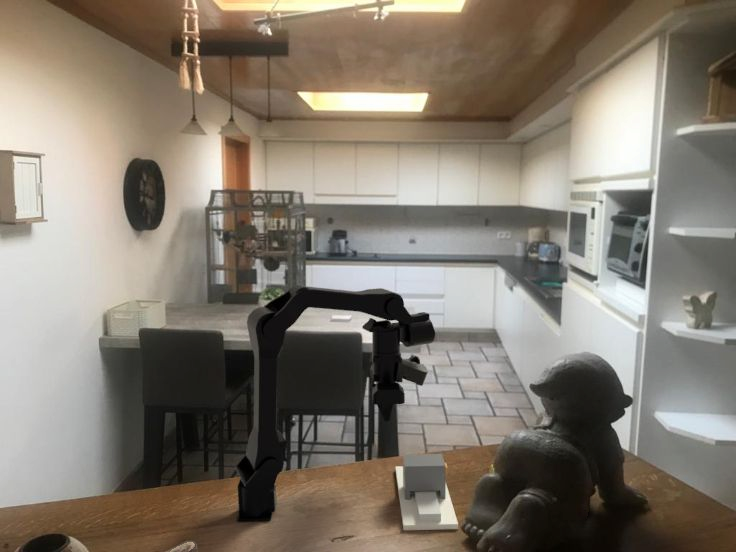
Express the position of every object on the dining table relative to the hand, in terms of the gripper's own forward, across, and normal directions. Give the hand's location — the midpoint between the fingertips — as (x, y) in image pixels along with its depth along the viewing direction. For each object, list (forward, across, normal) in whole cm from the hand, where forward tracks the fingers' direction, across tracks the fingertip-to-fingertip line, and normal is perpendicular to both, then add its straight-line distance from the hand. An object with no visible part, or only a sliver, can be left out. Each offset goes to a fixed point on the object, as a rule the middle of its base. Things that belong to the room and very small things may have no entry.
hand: (386, 420), depth 120 cm
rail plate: (+13, -8, -7) cm, 17 cm away
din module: (+12, -8, -7) cm, 16 cm away
